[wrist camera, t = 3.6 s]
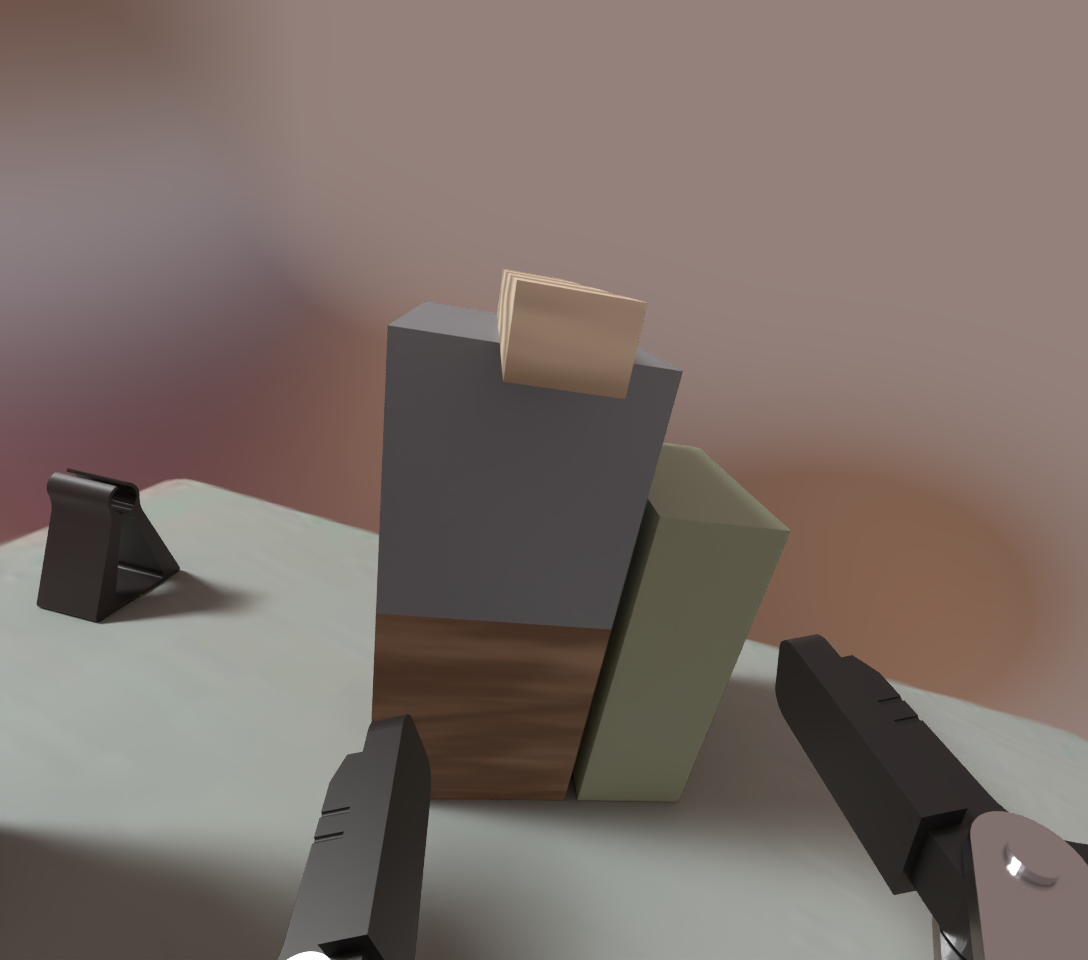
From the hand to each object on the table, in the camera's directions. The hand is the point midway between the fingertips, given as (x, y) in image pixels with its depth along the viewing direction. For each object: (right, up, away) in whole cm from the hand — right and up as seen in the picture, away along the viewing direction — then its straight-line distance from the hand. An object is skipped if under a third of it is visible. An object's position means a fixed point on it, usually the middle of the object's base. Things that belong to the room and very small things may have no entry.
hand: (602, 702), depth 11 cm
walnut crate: (-7, -15, +31) cm, 35 cm away
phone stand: (-44, -6, +38) cm, 58 cm away
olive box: (+5, -17, +33) cm, 37 cm away
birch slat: (-1, +12, +14) cm, 18 cm away
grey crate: (-5, -1, +25) cm, 25 cm away
